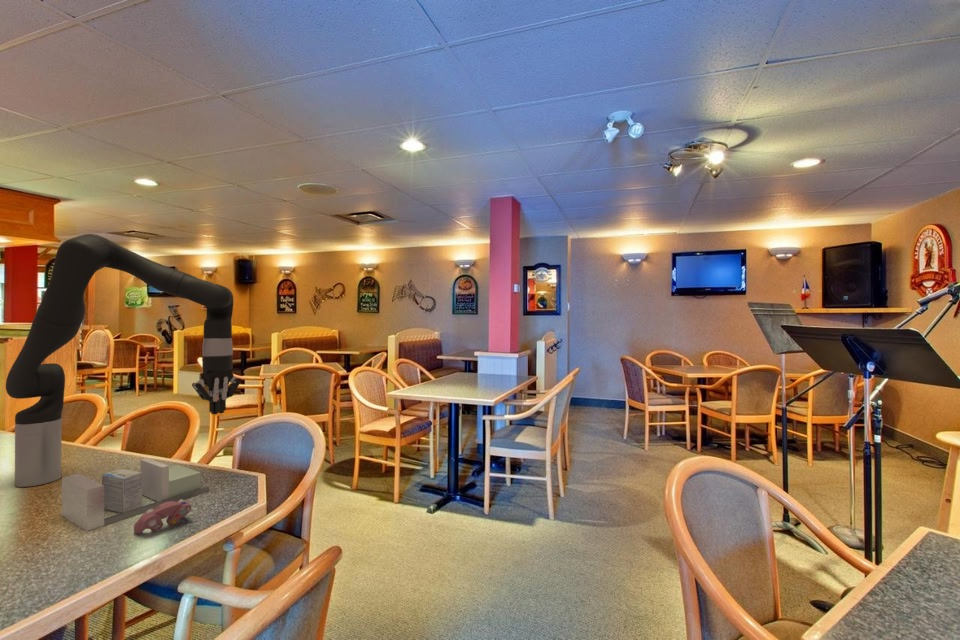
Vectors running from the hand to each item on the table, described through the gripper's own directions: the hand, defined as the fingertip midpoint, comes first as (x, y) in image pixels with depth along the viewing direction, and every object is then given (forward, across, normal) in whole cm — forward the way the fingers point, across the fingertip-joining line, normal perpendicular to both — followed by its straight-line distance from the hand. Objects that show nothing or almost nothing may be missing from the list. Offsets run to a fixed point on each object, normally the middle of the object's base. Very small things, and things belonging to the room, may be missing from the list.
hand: (217, 413), depth 124 cm
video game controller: (+19, +22, +19) cm, 35 cm away
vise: (+19, +19, 0) cm, 27 cm away
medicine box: (+19, +22, 0) cm, 30 cm away
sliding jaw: (+19, +12, 0) cm, 22 cm away
